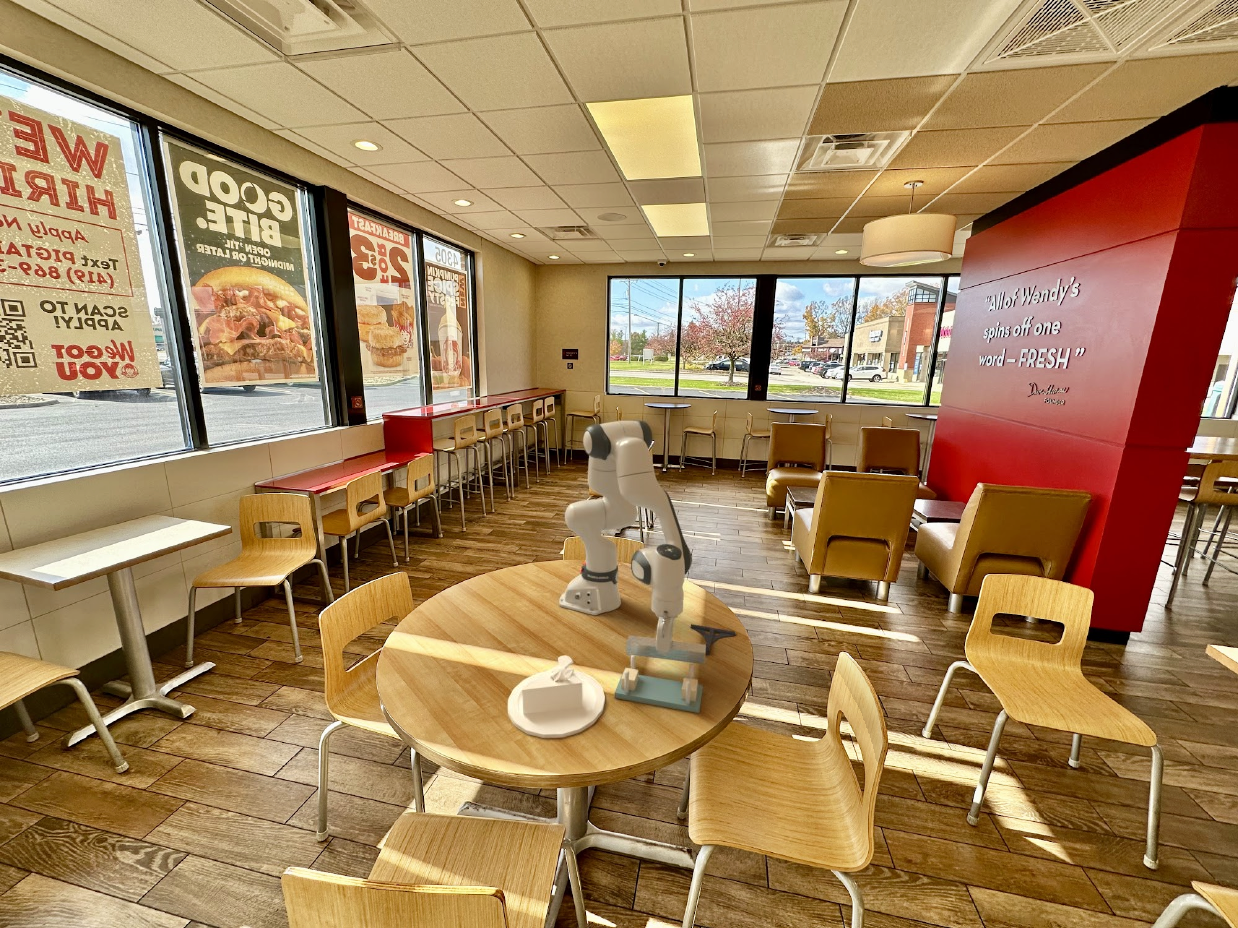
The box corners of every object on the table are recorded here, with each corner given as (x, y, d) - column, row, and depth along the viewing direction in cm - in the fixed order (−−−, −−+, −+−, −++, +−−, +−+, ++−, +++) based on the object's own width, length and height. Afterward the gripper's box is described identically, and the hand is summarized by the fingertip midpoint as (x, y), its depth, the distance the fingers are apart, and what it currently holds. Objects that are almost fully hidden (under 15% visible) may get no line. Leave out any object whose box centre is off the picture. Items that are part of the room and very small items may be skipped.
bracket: (682, 651, 151) (682, 643, 151) (691, 627, 165) (691, 619, 164) (730, 661, 147) (731, 652, 146) (735, 635, 161) (735, 627, 160)
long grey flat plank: (626, 653, 140) (626, 642, 139) (628, 645, 144) (628, 635, 143) (704, 664, 136) (705, 653, 135) (705, 655, 140) (705, 644, 139)
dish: (576, 663, 145) (576, 628, 142) (623, 714, 124) (623, 674, 122) (494, 692, 132) (492, 654, 129) (531, 755, 111) (529, 711, 109)
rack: (614, 697, 130) (614, 672, 128) (622, 676, 138) (623, 652, 136) (699, 712, 124) (700, 686, 123) (702, 690, 133) (703, 665, 131)
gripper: (675, 624, 126) (673, 672, 129) (680, 587, 146) (679, 629, 149) (651, 621, 127) (649, 669, 130) (659, 585, 147) (658, 627, 150)
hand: (665, 647), depth 140 cm, fingers closed on long grey flat plank, 4 cm apart
